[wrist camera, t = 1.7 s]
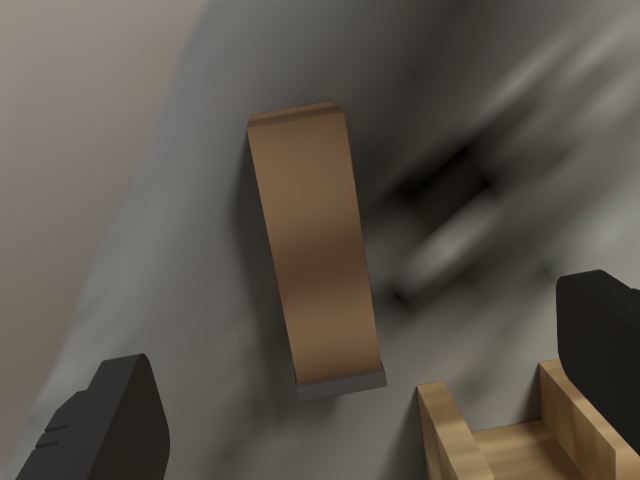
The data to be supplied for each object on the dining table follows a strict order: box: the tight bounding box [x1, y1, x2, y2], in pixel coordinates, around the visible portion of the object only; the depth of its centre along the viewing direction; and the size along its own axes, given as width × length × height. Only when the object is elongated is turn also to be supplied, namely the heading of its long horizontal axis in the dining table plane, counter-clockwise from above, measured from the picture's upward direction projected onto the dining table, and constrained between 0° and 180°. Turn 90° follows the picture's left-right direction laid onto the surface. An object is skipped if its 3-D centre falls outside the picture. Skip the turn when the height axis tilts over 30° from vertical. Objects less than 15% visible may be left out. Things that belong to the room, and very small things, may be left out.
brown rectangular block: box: [247, 101, 387, 403], centre depth 28 cm, size 13×4×6 cm, turn 9°
